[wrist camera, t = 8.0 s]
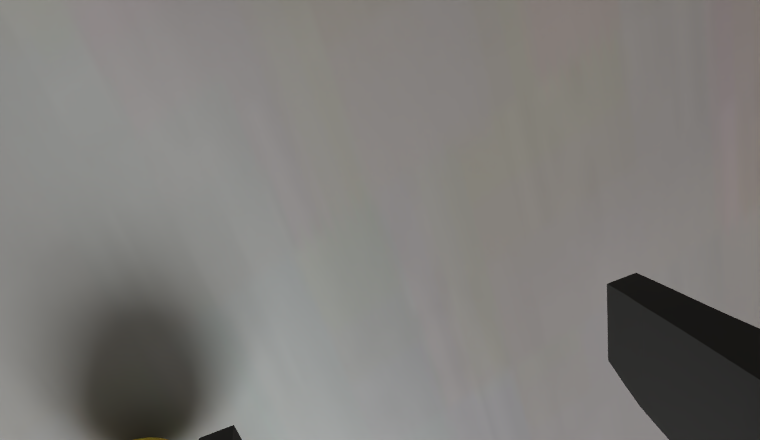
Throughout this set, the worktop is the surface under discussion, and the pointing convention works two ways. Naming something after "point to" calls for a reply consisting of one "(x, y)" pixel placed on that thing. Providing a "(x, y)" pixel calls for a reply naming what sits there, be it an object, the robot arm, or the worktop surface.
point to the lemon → (150, 439)
